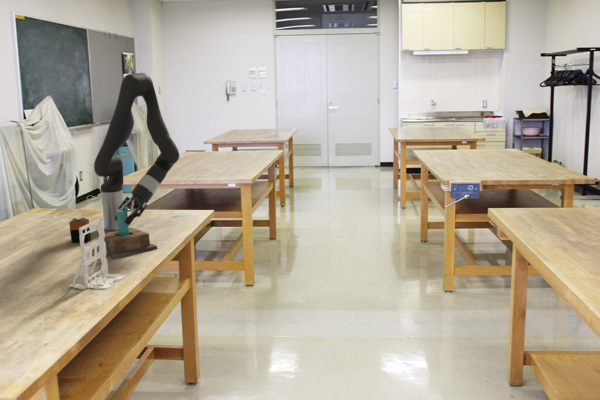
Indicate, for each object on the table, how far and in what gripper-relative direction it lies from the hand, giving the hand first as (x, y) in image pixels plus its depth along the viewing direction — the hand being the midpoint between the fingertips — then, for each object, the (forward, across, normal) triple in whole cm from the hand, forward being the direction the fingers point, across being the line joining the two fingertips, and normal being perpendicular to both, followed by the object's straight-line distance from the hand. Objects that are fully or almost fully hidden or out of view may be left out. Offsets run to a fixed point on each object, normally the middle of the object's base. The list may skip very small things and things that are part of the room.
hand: (121, 222), depth 228 cm
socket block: (+8, 0, +8) cm, 11 cm away
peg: (+7, 0, +7) cm, 10 cm away
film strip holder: (+25, +29, -9) cm, 39 cm away
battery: (+13, -25, +3) cm, 28 cm away
